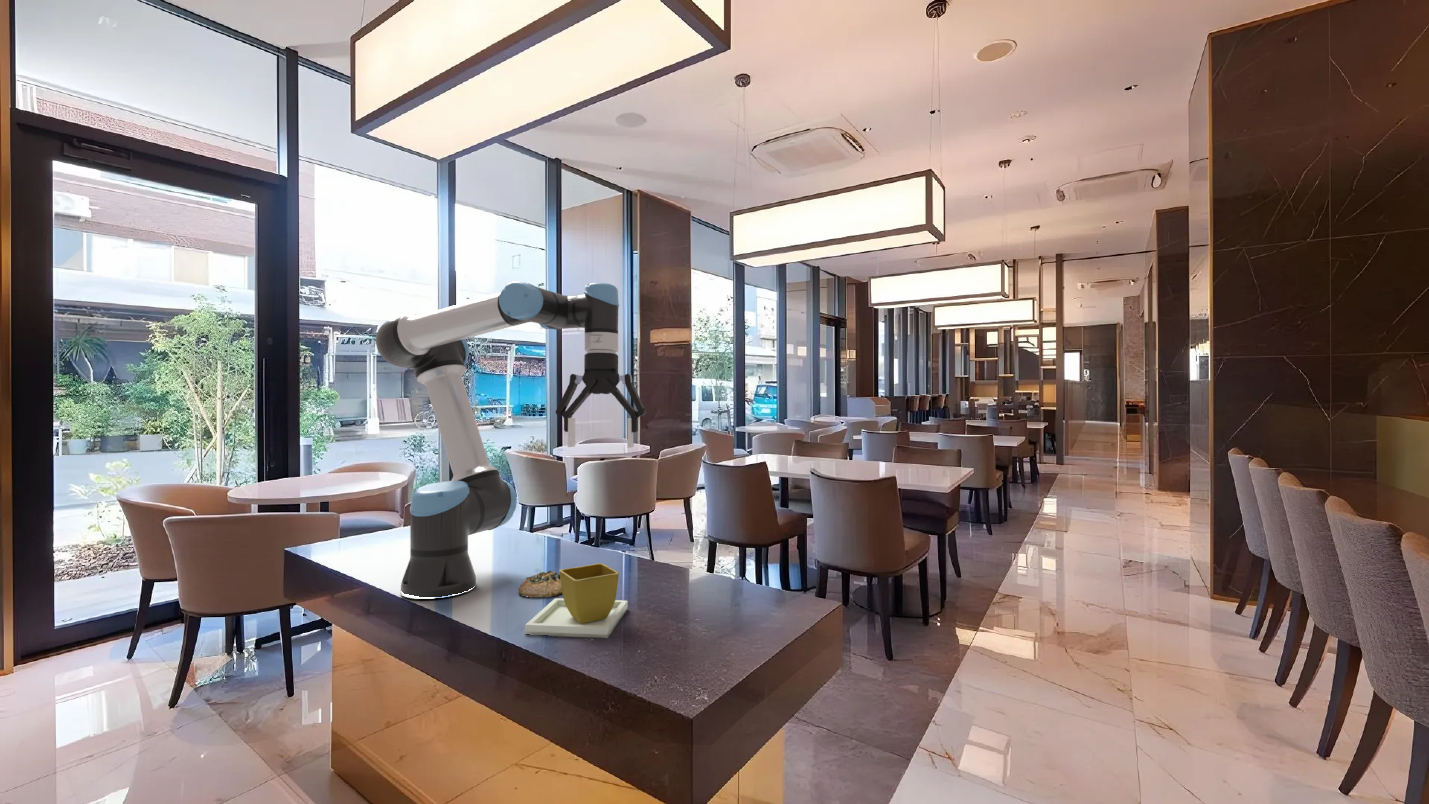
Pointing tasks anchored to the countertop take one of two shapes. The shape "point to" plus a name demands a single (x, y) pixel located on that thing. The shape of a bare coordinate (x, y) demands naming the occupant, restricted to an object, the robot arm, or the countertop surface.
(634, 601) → the countertop surface
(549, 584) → the bread roll
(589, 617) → the flower pot
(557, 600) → the tray
